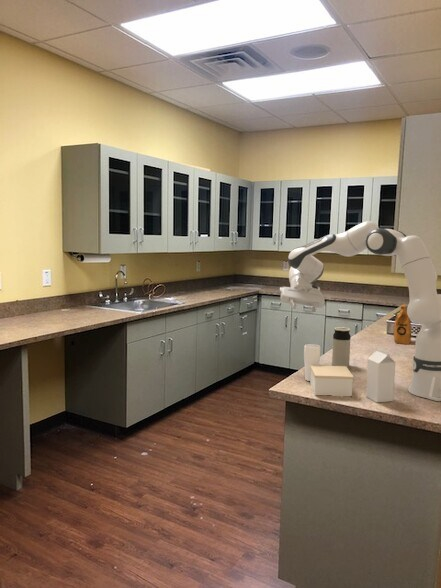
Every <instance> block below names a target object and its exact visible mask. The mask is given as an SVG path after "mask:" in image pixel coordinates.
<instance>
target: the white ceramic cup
mask: <svg viewBox="0 0 441 588" xmlns="http://www.w3.org/2000/svg"><path fill="white" fill-rule="evenodd" d="M320 360H321V346H320V345H319V344H314V343H309V344H308V343H307V344H304V347H303V361H304V380H305V381H306V380H307V381H306V382H309V381H311V368H310V365H320Z"/></svg>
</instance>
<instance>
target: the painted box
mask: <svg viewBox="0 0 441 588" xmlns="http://www.w3.org/2000/svg"><path fill="white" fill-rule="evenodd" d="M310 368H311V381H310V382H309V383H310V387H311V386H312V387H311V389H312V388H313V389H312V391H314V392H313V394H314V396H315V395H332V396H331V397H343V396H352V397H353V381H354V380H355V378H354V375H353V374H352V373H351V371H350V370H349V368H348V367H346V366H333V365H320V364H319V365H310Z"/></svg>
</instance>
